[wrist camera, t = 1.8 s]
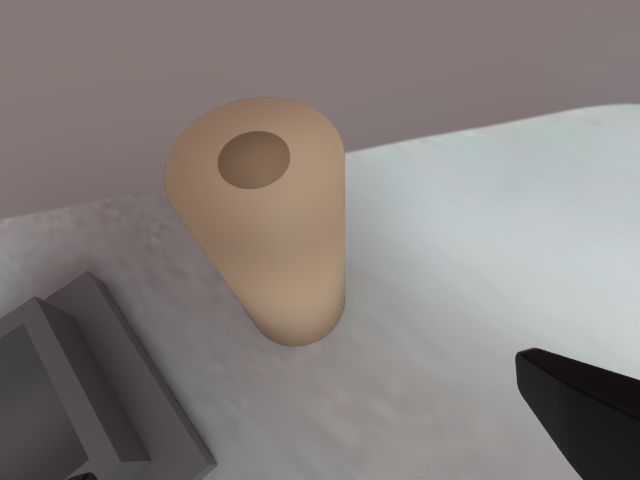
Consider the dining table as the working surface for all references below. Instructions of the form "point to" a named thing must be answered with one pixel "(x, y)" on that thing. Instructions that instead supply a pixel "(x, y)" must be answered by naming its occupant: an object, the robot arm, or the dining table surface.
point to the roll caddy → (87, 396)
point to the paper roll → (268, 211)
